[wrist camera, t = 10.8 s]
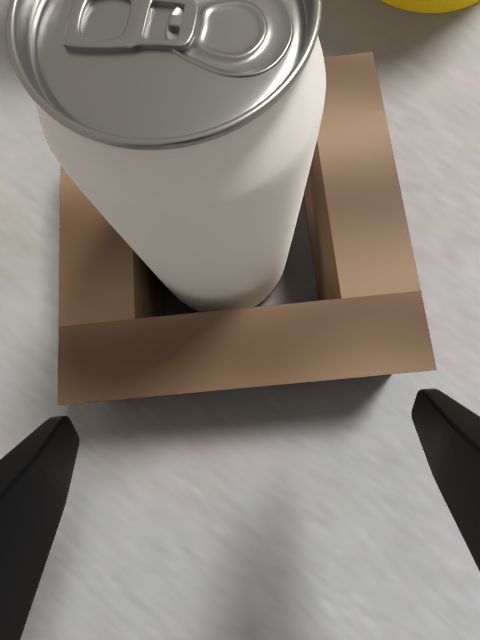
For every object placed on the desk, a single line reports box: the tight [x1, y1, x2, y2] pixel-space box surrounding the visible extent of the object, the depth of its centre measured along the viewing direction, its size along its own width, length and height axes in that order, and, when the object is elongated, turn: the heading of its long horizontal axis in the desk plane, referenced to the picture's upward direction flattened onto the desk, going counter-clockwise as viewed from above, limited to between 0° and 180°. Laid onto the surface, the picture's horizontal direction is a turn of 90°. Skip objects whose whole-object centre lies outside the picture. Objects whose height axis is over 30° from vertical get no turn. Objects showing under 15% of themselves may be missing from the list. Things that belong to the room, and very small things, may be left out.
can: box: [7, 0, 326, 312], centre depth 12 cm, size 6×6×12 cm
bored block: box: [58, 52, 437, 405], centre depth 16 cm, size 14×14×4 cm
